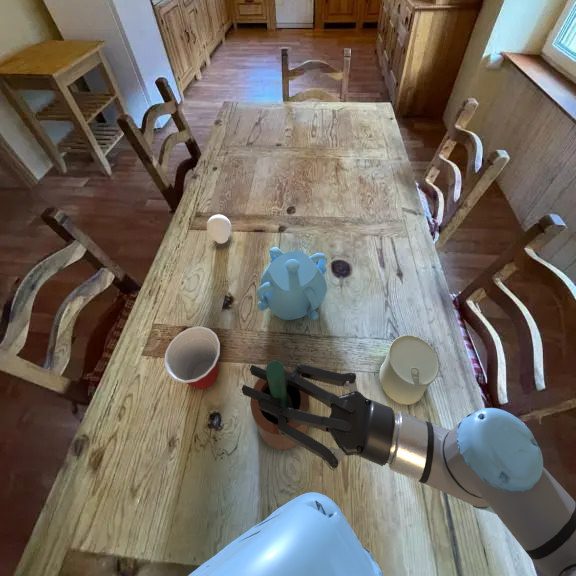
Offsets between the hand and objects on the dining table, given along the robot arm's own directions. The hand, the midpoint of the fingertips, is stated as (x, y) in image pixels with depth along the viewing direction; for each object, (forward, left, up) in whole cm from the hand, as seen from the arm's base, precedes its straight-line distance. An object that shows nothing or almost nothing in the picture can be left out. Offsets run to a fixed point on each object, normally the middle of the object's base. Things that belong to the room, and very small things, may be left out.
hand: (247, 379), depth 57 cm
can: (+15, -26, -17) cm, 35 cm away
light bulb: (+35, +27, -17) cm, 47 cm away
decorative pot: (+26, +2, -17) cm, 31 cm away
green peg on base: (0, -5, -12) cm, 13 cm away
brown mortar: (0, -5, -17) cm, 18 cm away
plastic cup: (+2, +14, -17) cm, 22 cm away
